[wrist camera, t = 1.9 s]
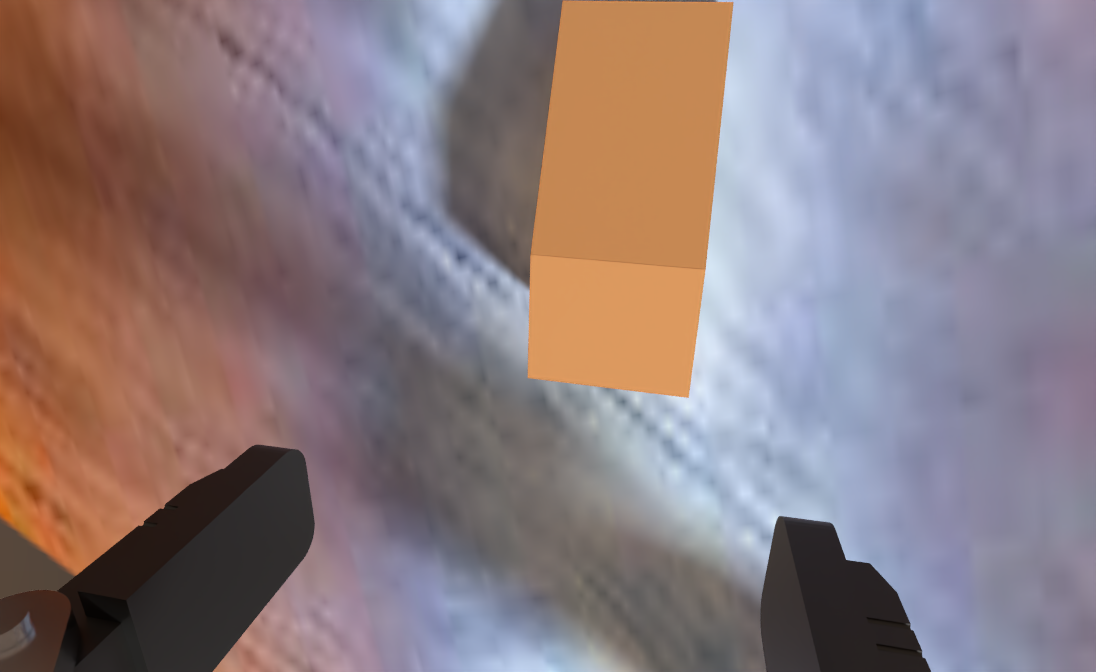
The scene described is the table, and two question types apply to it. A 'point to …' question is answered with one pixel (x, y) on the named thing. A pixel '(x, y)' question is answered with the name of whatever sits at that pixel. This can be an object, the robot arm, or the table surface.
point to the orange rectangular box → (627, 193)
